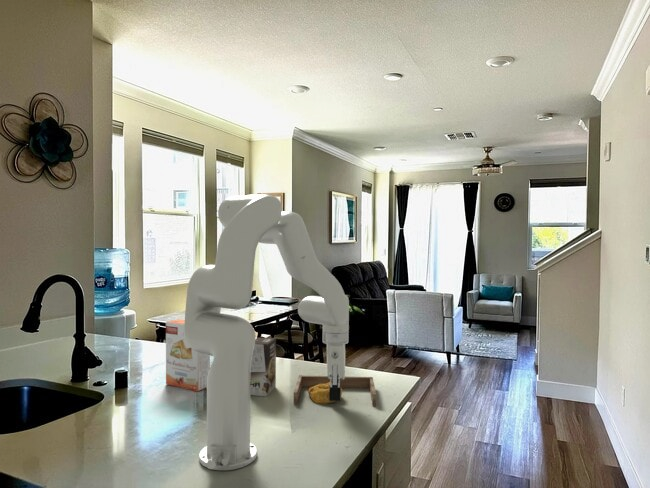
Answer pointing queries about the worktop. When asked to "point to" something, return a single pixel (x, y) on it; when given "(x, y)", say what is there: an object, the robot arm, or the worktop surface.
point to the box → (346, 383)
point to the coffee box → (263, 367)
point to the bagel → (320, 393)
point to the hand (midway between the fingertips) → (334, 399)
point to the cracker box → (184, 360)
